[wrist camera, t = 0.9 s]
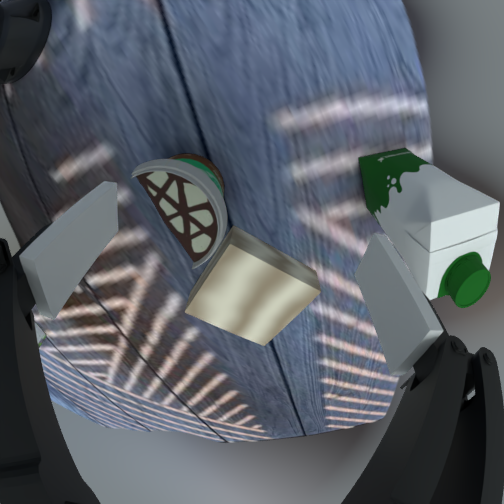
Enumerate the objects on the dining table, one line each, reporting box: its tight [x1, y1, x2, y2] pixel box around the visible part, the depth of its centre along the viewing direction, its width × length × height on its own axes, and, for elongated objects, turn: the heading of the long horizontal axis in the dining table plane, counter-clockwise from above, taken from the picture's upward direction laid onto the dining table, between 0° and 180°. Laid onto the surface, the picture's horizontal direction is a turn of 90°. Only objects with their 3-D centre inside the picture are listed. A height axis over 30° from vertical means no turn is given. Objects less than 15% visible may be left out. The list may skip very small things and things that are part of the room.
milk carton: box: [359, 148, 500, 308], centre depth 23 cm, size 9×9×20 cm
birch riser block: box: [185, 225, 321, 346], centre depth 40 cm, size 14×14×5 cm
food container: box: [131, 153, 227, 269], centre depth 29 cm, size 12×6×10 cm, turn 26°
